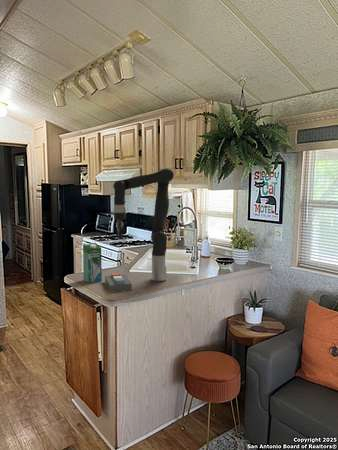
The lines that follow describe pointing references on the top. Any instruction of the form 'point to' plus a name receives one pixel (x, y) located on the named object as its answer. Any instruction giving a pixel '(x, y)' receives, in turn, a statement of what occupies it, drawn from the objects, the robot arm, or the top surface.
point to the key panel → (120, 287)
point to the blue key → (119, 281)
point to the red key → (115, 274)
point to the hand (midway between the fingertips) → (120, 238)
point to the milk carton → (92, 263)
